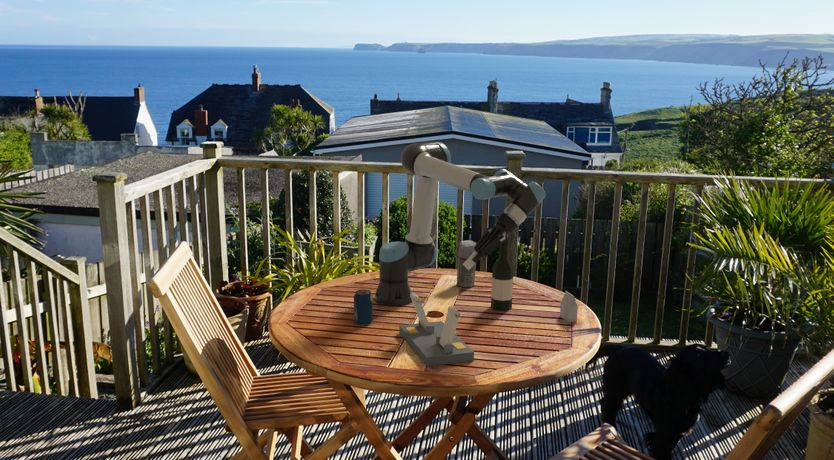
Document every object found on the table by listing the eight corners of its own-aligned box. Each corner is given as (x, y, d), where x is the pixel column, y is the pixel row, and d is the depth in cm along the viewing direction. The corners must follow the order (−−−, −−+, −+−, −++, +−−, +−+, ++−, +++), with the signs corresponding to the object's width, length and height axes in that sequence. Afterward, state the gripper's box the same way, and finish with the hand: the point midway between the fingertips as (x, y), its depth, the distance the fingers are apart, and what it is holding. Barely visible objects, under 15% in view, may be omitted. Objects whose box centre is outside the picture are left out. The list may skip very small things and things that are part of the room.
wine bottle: (511, 304, 276) (514, 232, 269) (512, 311, 267) (515, 237, 261) (490, 303, 276) (493, 231, 270) (490, 310, 268) (493, 236, 262)
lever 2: (443, 343, 225) (454, 306, 223) (450, 350, 219) (461, 312, 218) (438, 342, 224) (448, 305, 222) (444, 349, 218) (455, 311, 217)
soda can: (375, 321, 254) (376, 290, 251) (366, 327, 248) (366, 295, 245) (359, 318, 257) (359, 288, 254) (350, 324, 250) (350, 293, 248)
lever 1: (425, 323, 241) (414, 291, 237) (431, 329, 236) (419, 296, 232) (420, 325, 241) (409, 294, 237) (426, 331, 235) (414, 299, 231)
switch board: (441, 328, 247) (441, 314, 246) (473, 360, 219) (474, 344, 218) (399, 333, 242) (399, 318, 241) (427, 366, 214) (427, 349, 213)
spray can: (477, 283, 303) (479, 240, 299) (472, 288, 296) (474, 244, 291) (459, 281, 306) (460, 238, 302) (454, 286, 298) (455, 242, 294)
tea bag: (567, 322, 257) (569, 296, 254) (559, 316, 263) (561, 291, 261) (576, 321, 257) (578, 296, 255) (568, 315, 264) (570, 290, 262)
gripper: (525, 229, 237) (479, 279, 235) (509, 222, 249) (465, 269, 248) (512, 215, 234) (465, 265, 233) (496, 208, 246) (452, 256, 245)
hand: (465, 267), depth 240 cm, fingers closed
